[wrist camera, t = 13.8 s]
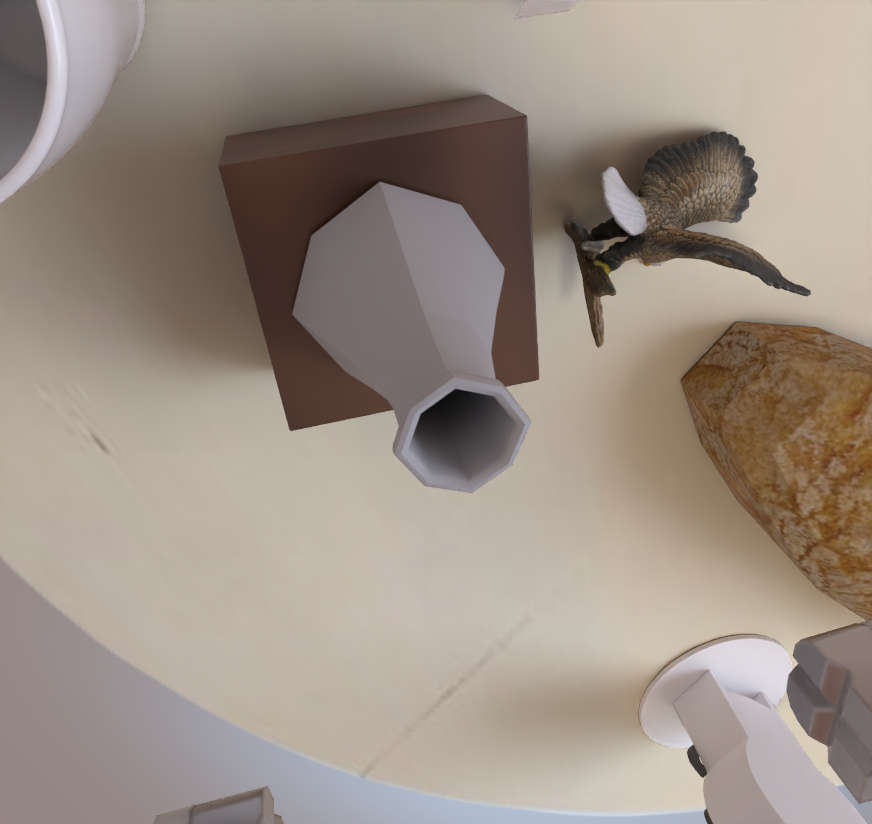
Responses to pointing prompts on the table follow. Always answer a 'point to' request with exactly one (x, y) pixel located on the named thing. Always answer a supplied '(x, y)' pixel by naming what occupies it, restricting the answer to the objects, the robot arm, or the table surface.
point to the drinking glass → (57, 77)
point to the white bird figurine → (544, 7)
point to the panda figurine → (740, 735)
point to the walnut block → (346, 182)
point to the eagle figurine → (673, 218)
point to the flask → (417, 329)
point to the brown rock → (795, 445)
